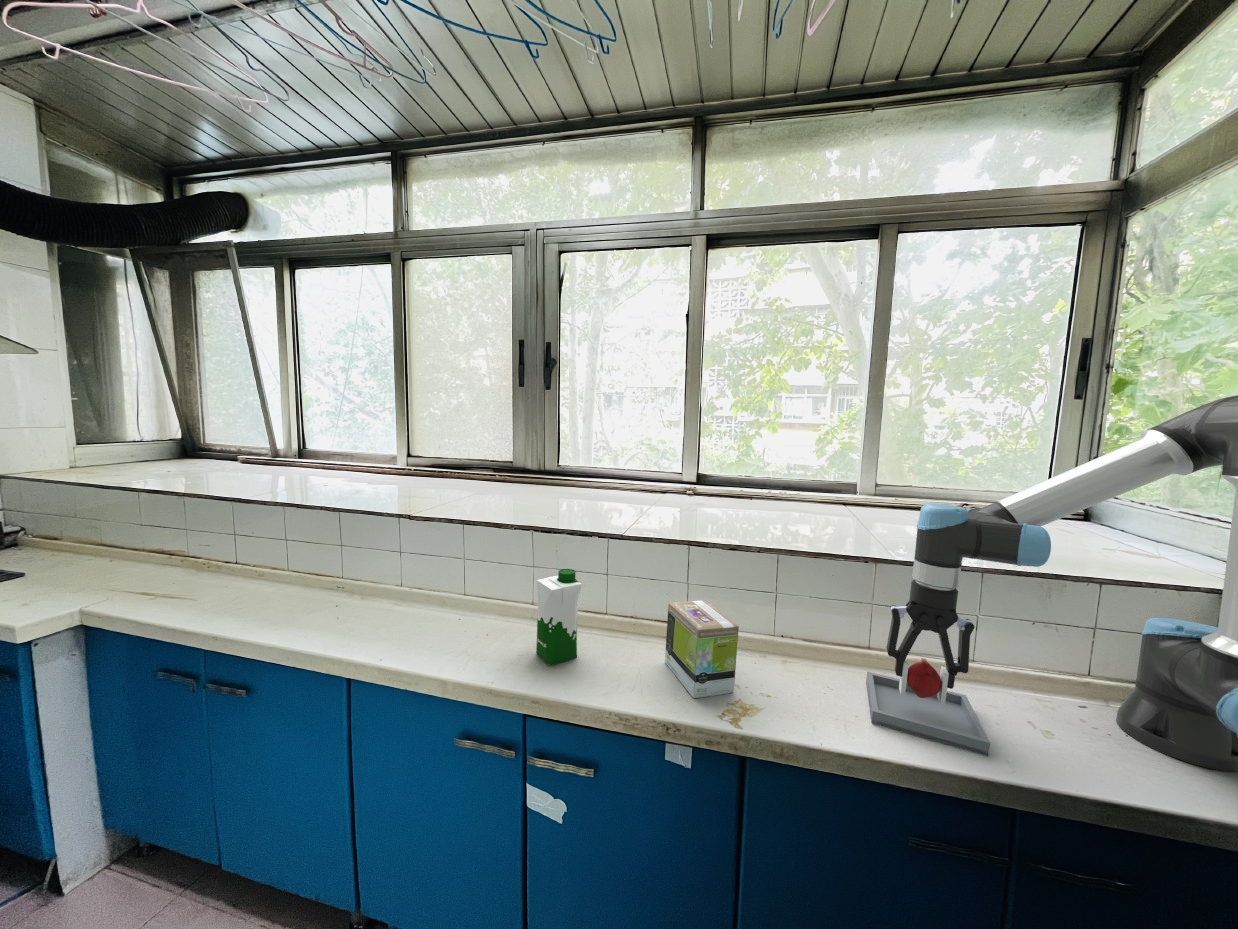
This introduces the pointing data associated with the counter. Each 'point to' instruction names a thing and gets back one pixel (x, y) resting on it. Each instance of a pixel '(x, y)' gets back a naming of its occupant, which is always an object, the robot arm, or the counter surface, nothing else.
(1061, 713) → the counter surface
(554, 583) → the milk carton
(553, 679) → the counter surface
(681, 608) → the tea box
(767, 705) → the counter surface
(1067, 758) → the counter surface
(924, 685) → the onion
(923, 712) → the tray
